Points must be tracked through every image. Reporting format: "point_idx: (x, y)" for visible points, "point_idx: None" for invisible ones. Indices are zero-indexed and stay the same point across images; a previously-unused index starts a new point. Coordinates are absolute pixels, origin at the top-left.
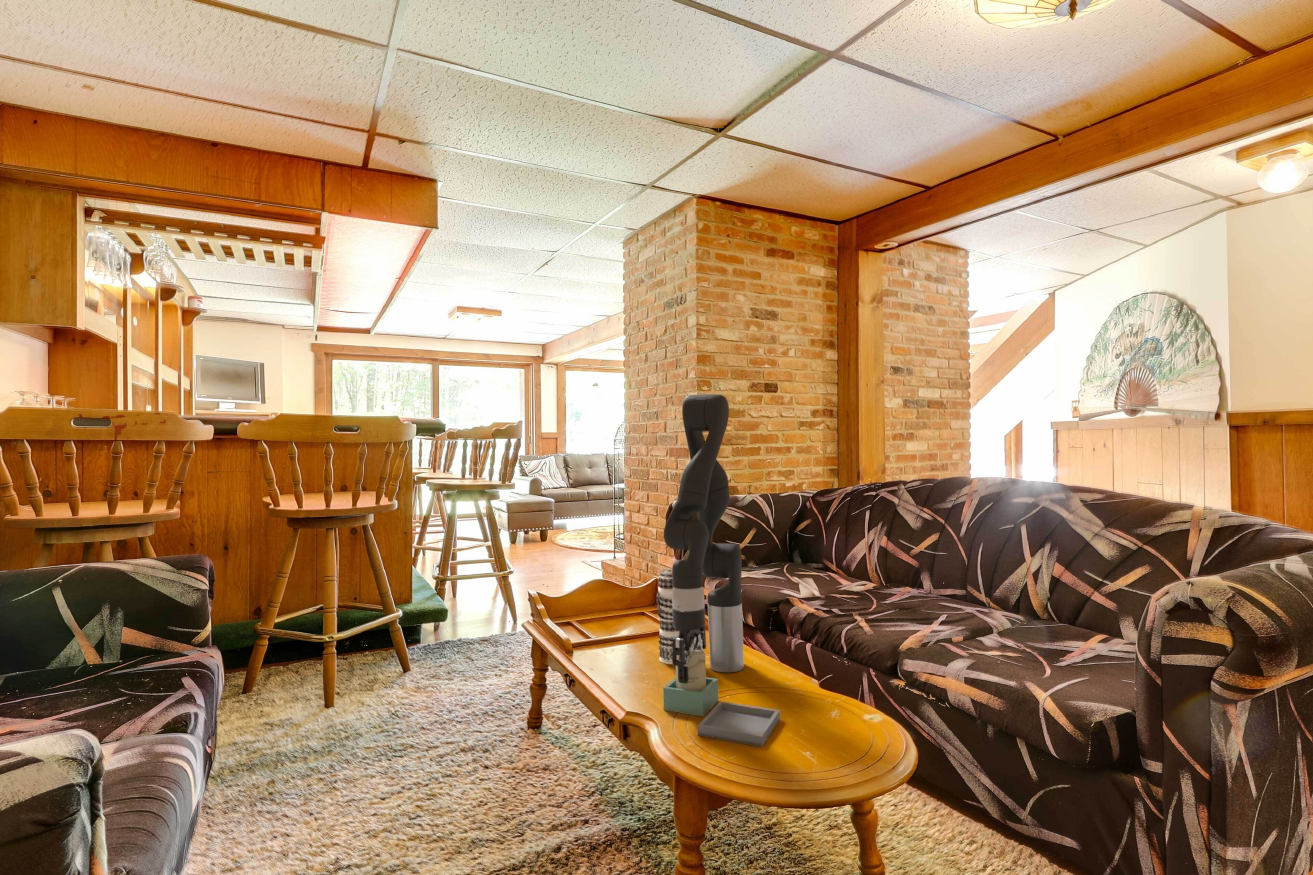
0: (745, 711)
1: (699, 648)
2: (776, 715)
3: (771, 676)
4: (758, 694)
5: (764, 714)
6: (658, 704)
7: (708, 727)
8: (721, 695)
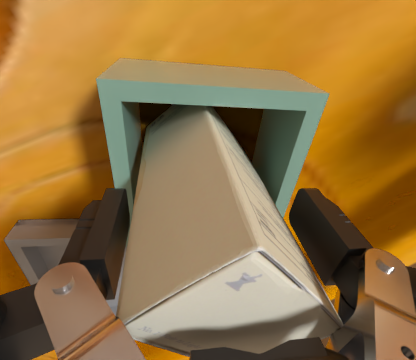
0: None
1: (330, 342)
2: None
3: (405, 242)
4: (301, 249)
5: None
6: (162, 6)
7: (17, 260)
8: None
